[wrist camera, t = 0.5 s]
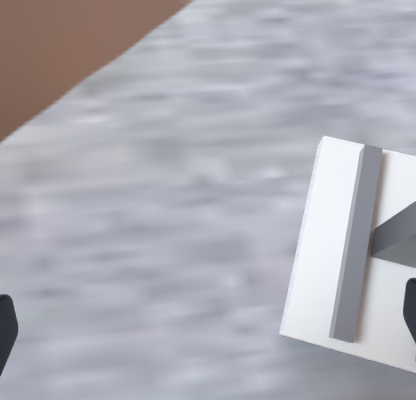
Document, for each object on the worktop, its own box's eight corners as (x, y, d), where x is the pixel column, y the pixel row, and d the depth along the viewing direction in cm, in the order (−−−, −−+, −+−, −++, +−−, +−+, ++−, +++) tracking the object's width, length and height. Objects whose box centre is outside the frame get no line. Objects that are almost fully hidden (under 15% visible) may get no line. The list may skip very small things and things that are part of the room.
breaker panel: (464, 387, 21) (494, 393, 19) (279, 334, 22) (285, 334, 20) (477, 183, 25) (503, 167, 22) (317, 146, 26) (327, 128, 23)
